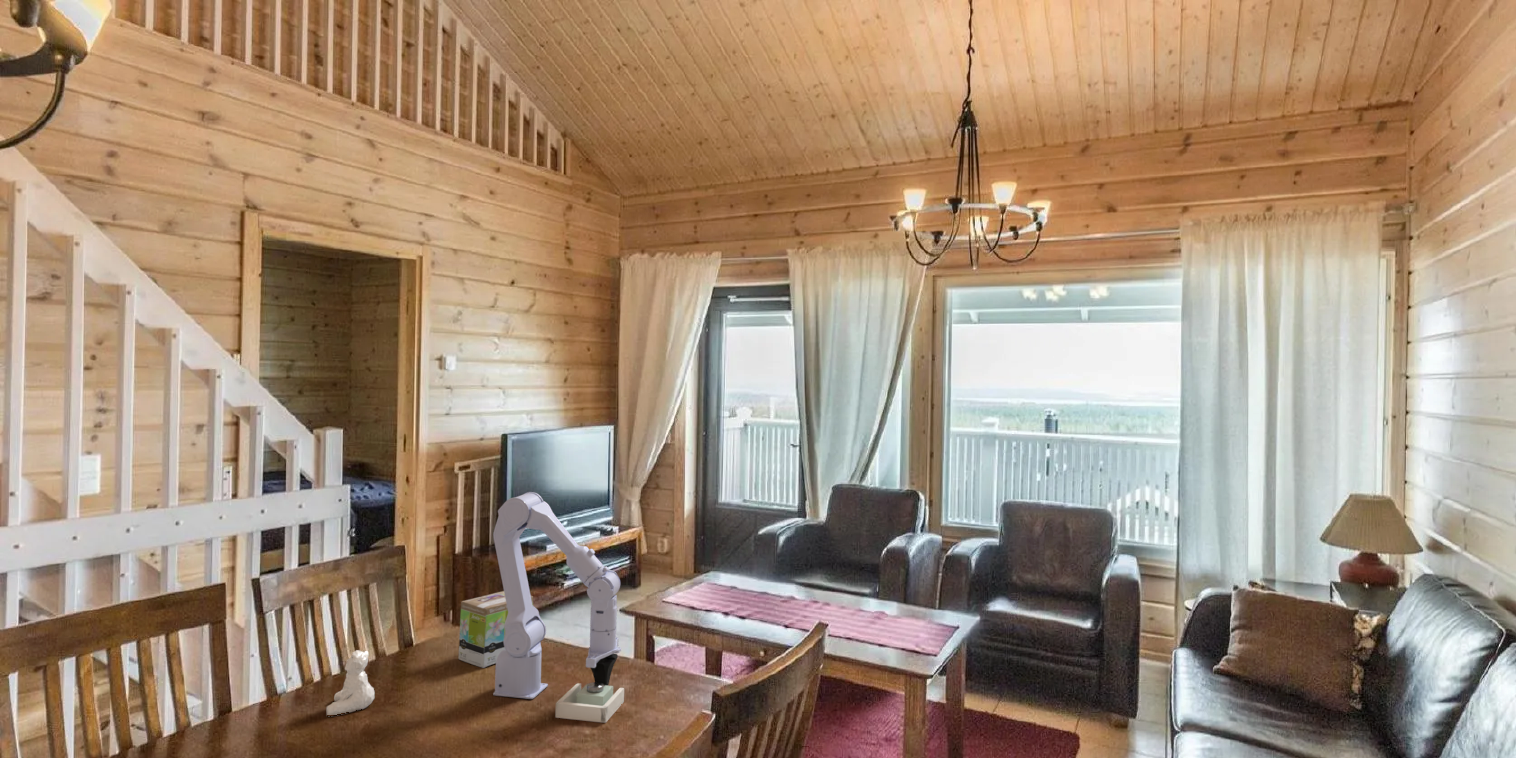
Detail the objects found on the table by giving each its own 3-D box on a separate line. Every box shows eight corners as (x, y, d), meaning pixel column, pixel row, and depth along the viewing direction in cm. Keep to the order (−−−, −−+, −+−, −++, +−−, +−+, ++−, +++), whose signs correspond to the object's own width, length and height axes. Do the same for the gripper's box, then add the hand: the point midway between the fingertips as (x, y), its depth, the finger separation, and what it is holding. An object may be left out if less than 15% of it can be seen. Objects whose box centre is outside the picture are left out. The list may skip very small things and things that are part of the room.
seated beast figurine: (336, 699, 176) (337, 644, 176) (379, 696, 179) (380, 641, 178) (324, 717, 167) (325, 659, 167) (370, 714, 169) (371, 656, 169)
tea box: (484, 669, 196) (485, 608, 196) (457, 660, 201) (458, 600, 201) (533, 652, 208) (534, 594, 208) (506, 644, 214) (507, 587, 214)
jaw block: (576, 710, 174) (576, 689, 174) (587, 699, 180) (587, 678, 180) (602, 713, 173) (603, 692, 173) (612, 701, 179) (613, 681, 179)
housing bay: (555, 717, 170) (555, 703, 170) (576, 696, 181) (576, 683, 181) (605, 722, 168) (605, 708, 168) (623, 701, 179) (624, 688, 179)
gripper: (608, 639, 173) (607, 703, 173) (631, 619, 187) (630, 678, 187) (577, 636, 174) (575, 700, 174) (602, 616, 188) (601, 675, 188)
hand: (602, 688), depth 181 cm, fingers closed
